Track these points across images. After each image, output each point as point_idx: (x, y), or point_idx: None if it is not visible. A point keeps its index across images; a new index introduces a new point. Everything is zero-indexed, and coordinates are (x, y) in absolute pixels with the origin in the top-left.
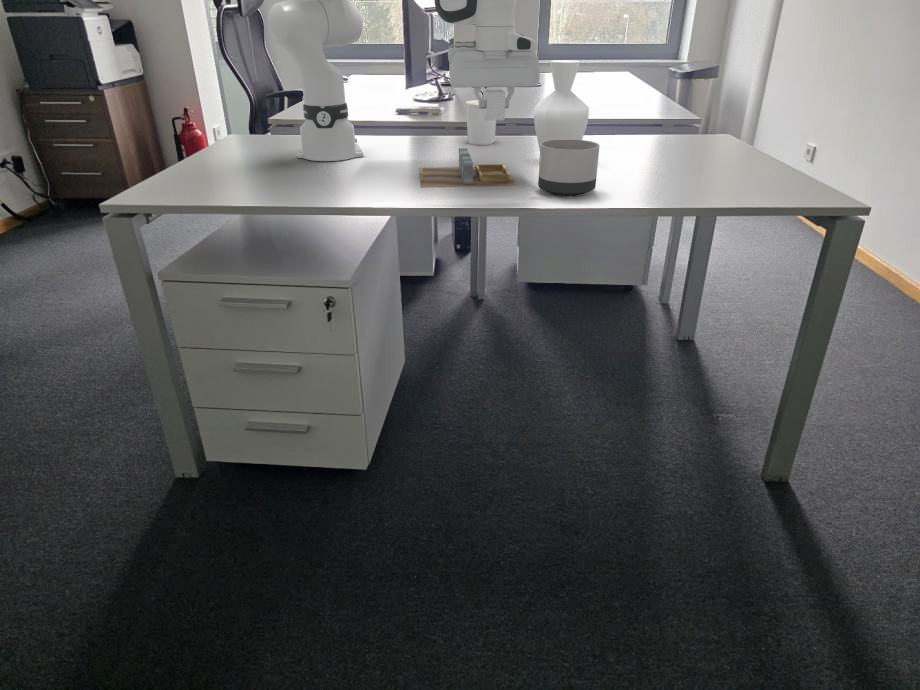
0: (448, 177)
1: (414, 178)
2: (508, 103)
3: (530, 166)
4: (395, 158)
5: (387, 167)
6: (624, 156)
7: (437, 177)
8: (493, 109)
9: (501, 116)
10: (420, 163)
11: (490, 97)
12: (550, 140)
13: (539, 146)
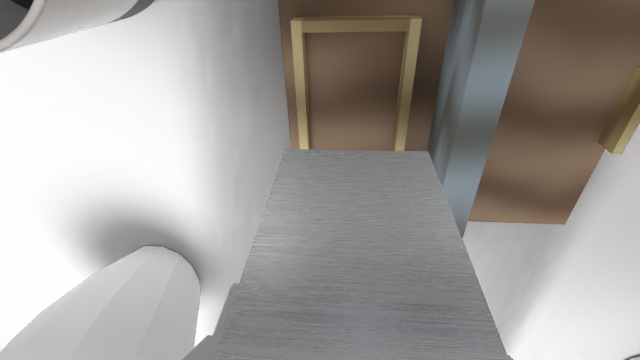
0: (520, 91)
1: (606, 153)
2: (227, 311)
3: (228, 241)
4: (554, 338)
5: (621, 274)
6: (23, 291)
7: (562, 95)
8: (380, 202)
9: (305, 166)
10: (510, 296)
11: (438, 306)
12: (21, 22)
13: (194, 306)
